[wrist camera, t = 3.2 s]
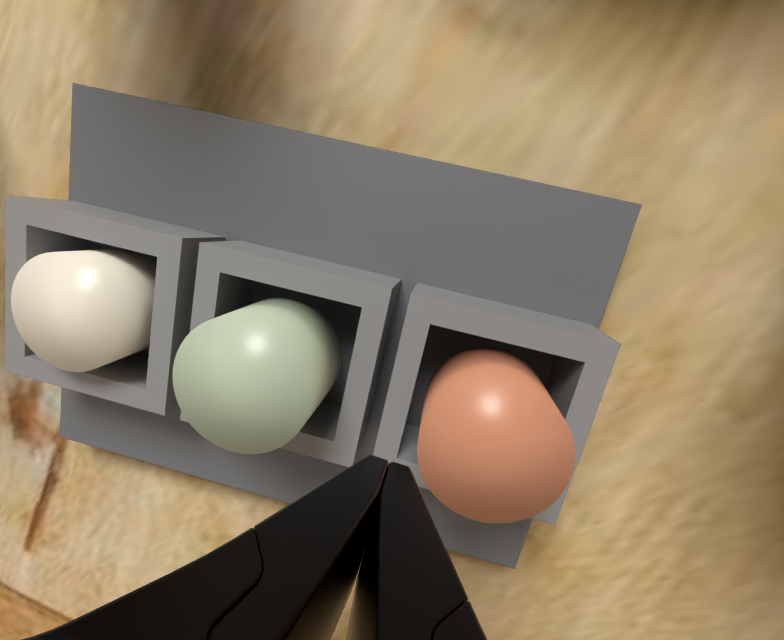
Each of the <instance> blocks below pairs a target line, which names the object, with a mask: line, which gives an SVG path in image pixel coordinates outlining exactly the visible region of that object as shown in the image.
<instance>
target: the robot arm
mask: <svg viewBox="0 0 784 640" xmlns="http://www.w3.org/2000/svg"><path fill="white" fill-rule="evenodd" d="M388 465H389V466H388ZM362 557H363V558H362ZM360 564H361V565H360ZM359 568H360V569H359ZM358 571H359V573H358ZM357 574H358V577H357ZM356 577H357V581H356V586H355V591H354V597H353V603H352V609H351V615H350V621H349V628H348V634H347V640H487V638H486V636H485V634H484V632H483V630H482V628H481V626H480V623H479V621H478V619H477V617H476V615H475V612H474V610H473V608H472V605H471V603H470V602H469V601H468V597H467V595H466V592H465V590H464V588H463V586H462V583H461V581H460V579H459V577H458V574H457V572H456V570H455V568H454V565H453V563H452V561H451V559H450V556H449V554H448V552H447V550H446V547H445V545H444V543H443V540H442V538H441V536H440V534H439V531H438V529H437V527H436V525H435V522H434V520H433V518H432V516H431V513H430V511H429V509H428V507H427V504H426V502H425V500H424V498H423V495H422V493H421V491H420V489H419V486H418V484H417V482H416V480H415V477H414V475H413V473H412V471H411V469H410V467H408V466H406V465H403V464H399V463H396V462H390V463H389V462H388V460H386V459H383V458H380V457H377V456H374V455H369V456H367V457H365V458H364V459H362V460H360V461H359V462H357V463H355V464H354V465H352V466H351V467H349V468H347V469H346V470H344V471H343V472H341V473H339V474H338V475H336V476H335V477H333V478H331V479H330V480H328V481H326V482H325V483H323V484H322V485H320V486H318V487H317V488H315V489H314V490H312V491H310V492H309V493H307V494H305V495H304V496H302V497H301V498H299V499H297V500H296V501H294V502H293V503H291V504H289V505H288V506H286V507H285V508H283V509H281V510H280V511H278V512H276V513H275V514H273V515H272V516H270V517H268V518H267V519H265V520H264V521H262V522H260V523H259V524H257V525H256V526H255V527H254V529H253V528H250V529H249V530H247V531H245V532H244V533H242V534H241V535H239V536H237V537H236V538H234V539H232V540H231V541H229V542H227V543H226V544H224V545H222V546H220V547H219V548H217V549H215V550H213V551H212V552H210V553H208V554H207V555H205V556H203V557H201V558H199V559H197V560H195V561H193V562H191V563H189V564H187V565H185V566H183V567H181V568H179V569H177V570H175V571H174V572H172V573H170V574H168V575H165V576H163V577H161V578H159V579H157V580H155V581H153V582H151V583H149V584H147V585H145V586H143V587H141V588H139V589H136V590H134V591H132V592H130V593H128V594H126V595H124V596H122V597H120V598H118V599H116V600H114V601H112V602H110V603H108V604H105V605H103V606H101V607H99V608H97V609H95V610H93V611H91V612H89V613H87V614H85V615H83V616H81V617H79V618H76V619H74V620H72V621H70V622H68V623H66V624H63V625H61V626H59V627H57V628H54V629H52V630H49V631H46V632H44V633H41V634H38V635H35V636H33V637H29V638H26V639H22V640H331V637H332V635H333V633H334V630H335V628H336V626H337V623H338V621H339V619H340V616H341V614H342V612H343V609H344V607H345V604H346V602H347V600H348V597H349V595H350V593H351V590H352V588H353V585H354V582H355V580H356Z"/></svg>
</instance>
